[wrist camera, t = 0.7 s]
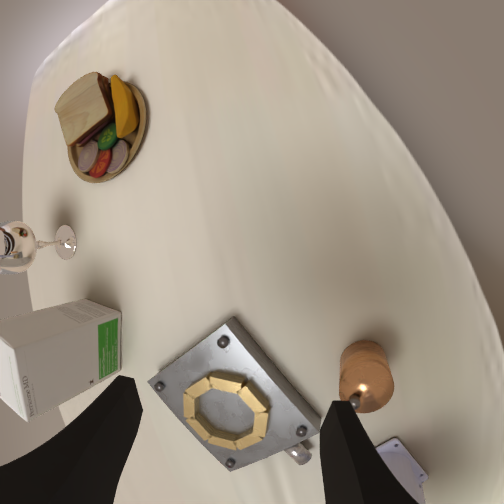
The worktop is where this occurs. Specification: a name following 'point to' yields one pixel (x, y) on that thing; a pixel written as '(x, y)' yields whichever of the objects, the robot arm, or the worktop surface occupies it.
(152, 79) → the worktop surface
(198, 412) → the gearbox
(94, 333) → the skincare box
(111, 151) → the toy sandwich meal
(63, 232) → the wineglass
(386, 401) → the copper spout can
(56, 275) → the worktop surface
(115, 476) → the robot arm
